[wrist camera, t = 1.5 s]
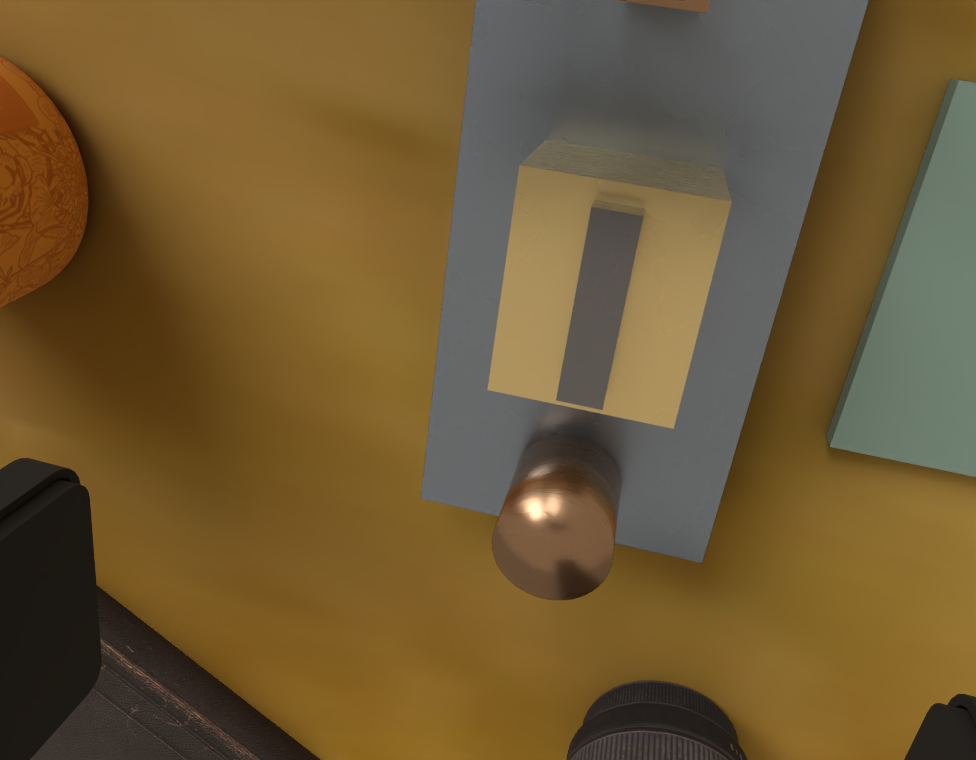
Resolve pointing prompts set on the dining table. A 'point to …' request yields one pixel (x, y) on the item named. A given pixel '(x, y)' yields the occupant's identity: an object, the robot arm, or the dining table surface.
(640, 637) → the dining table surface
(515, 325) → the lever cap
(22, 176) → the wine bottle
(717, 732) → the camera lens
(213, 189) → the dining table surface
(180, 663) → the hardcover book
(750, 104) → the hand plane
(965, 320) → the rubber mat
